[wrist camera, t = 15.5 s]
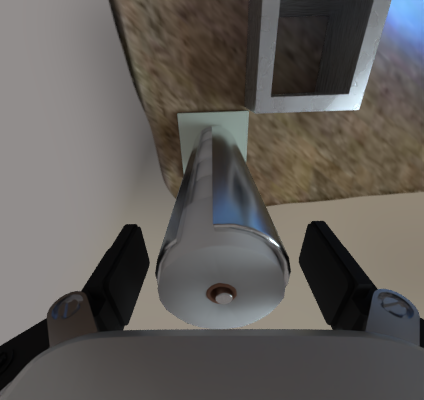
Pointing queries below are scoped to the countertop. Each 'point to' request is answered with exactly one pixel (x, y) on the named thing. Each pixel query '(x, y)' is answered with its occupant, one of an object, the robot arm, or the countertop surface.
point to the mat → (198, 121)
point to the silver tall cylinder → (220, 242)
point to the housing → (330, 59)
